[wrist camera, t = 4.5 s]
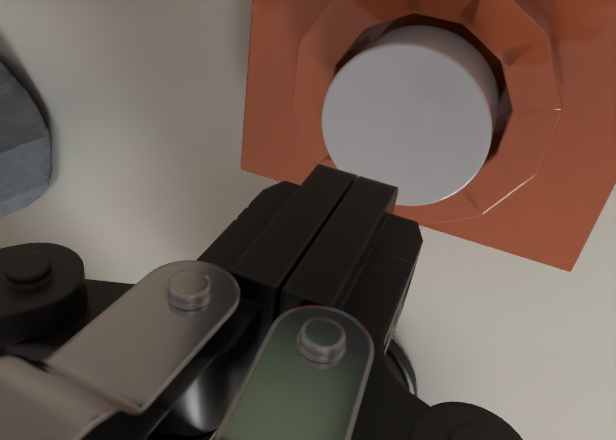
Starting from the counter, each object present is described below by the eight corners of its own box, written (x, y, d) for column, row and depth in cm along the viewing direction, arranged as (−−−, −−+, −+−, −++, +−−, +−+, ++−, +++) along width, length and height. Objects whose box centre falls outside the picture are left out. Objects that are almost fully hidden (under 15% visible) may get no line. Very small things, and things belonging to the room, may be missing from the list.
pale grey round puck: (333, 152, 18) (310, 180, 16) (358, 7, 15) (334, 24, 14) (472, 192, 17) (462, 227, 15) (522, 45, 14) (517, 68, 13)
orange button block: (269, 142, 23) (216, 191, 20) (296, -126, 18) (230, -124, 15) (570, 231, 21) (571, 306, 17) (706, -53, 15) (749, -30, 12)
